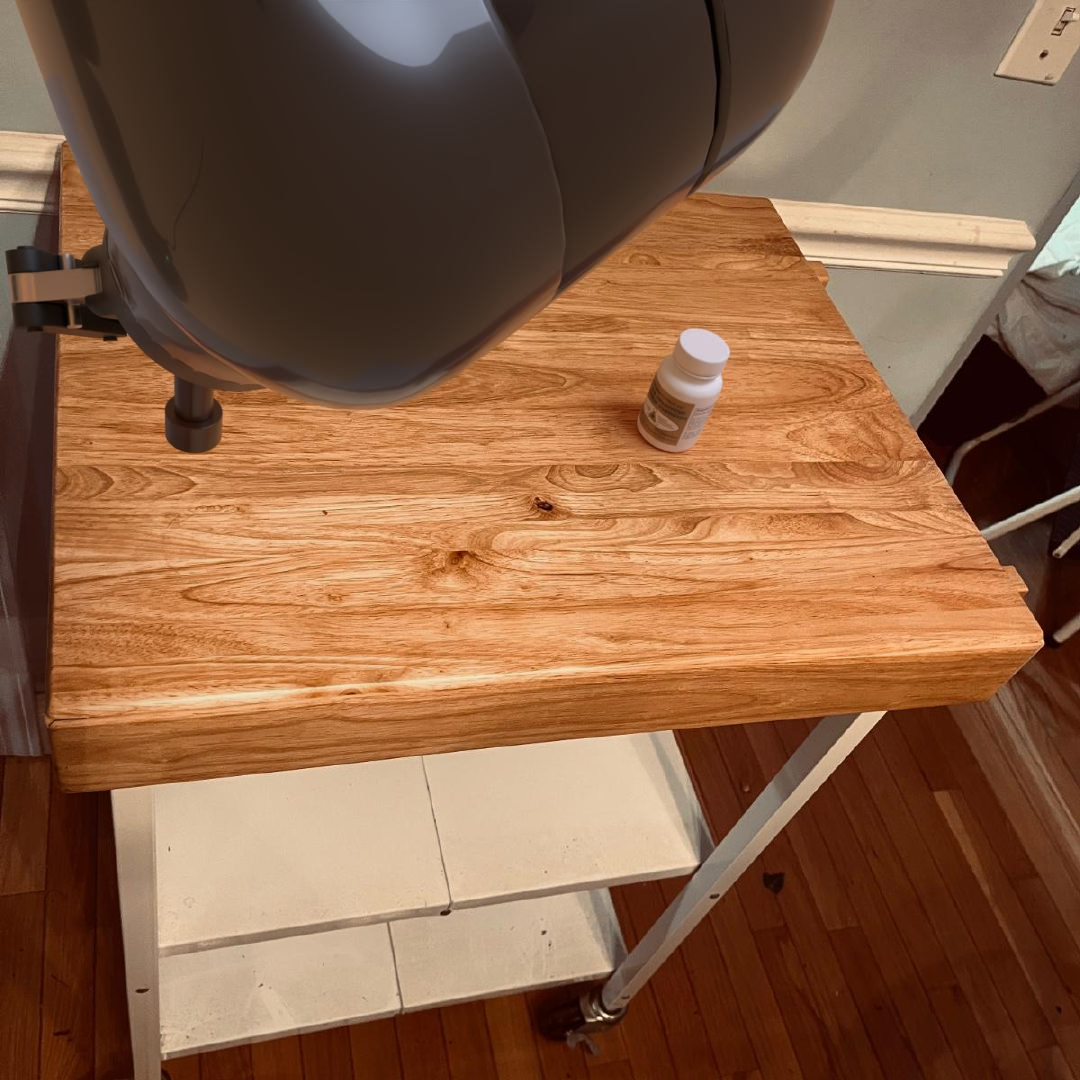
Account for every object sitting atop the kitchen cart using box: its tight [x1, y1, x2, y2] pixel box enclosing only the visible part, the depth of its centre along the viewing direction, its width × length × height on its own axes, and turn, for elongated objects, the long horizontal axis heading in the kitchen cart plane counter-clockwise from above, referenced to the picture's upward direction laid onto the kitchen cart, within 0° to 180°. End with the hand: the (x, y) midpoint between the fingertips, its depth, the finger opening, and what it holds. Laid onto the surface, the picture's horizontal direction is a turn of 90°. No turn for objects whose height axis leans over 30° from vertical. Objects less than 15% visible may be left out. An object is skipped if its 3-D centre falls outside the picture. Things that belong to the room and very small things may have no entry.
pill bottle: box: [636, 327, 731, 453], centre depth 71 cm, size 4×4×8 cm
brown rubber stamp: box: [164, 374, 224, 454], centre depth 44 cm, size 2×2×9 cm
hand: (185, 316), depth 45 cm, fingers closed on brown rubber stamp, 1 cm apart
